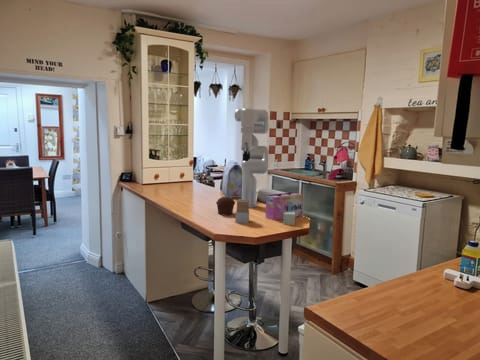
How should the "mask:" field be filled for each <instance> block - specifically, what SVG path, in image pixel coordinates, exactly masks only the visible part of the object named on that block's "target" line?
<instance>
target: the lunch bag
mask: <svg viewBox="0 0 480 360" xmlns="http://www.w3.org/2000/svg"><path fill="white" fill-rule="evenodd" d="M221 192H222V193H223V194H224V195H225V197H230V198H232V199H233V198H238V199H242V167H241V165H240V164H238V161H236V160H234V159H231V160H229V161H228V162H227V163H226V165H225V166H224V167H223V171H222V186H221Z"/></svg>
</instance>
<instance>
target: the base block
mask: <svg viewBox="0 0 480 360" xmlns="http://www.w3.org/2000/svg"><path fill="white" fill-rule="evenodd" d="M234 216H235V219H234V223H236V224H248V223H249V221H250V210H248V213H245V212H237V209H235V215H234Z"/></svg>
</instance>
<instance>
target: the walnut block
mask: <svg viewBox="0 0 480 360" xmlns="http://www.w3.org/2000/svg"><path fill="white" fill-rule="evenodd" d="M249 209H250V208H249V200H243V199H242V198H238V199H237V200H236V210H237V212H245V213H248V210H249ZM249 211H250V210H249Z"/></svg>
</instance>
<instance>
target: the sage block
mask: <svg viewBox="0 0 480 360" xmlns="http://www.w3.org/2000/svg"><path fill="white" fill-rule="evenodd" d="M282 220H283V221H282V223H283V225H285V226H286V225H287V226H295V222H296V221H295V220H296V217H295V212H286V211H284V219H282Z"/></svg>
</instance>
